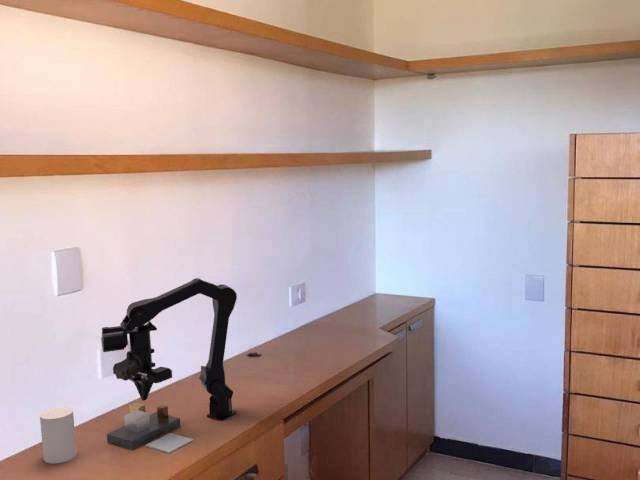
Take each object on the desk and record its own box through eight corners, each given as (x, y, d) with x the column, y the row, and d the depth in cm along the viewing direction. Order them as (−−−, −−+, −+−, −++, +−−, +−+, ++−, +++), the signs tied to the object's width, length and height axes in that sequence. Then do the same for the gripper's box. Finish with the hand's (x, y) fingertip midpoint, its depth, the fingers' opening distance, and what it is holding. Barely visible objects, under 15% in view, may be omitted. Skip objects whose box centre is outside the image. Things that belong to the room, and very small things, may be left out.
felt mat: (170, 434, 186) (170, 432, 186) (193, 440, 181) (193, 439, 181) (145, 446, 179) (145, 444, 179) (169, 453, 174) (169, 452, 174)
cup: (80, 449, 179) (77, 406, 177) (70, 462, 170) (66, 418, 169) (50, 450, 178) (46, 407, 177) (38, 464, 170) (34, 419, 169)
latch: (136, 415, 193) (135, 402, 193) (145, 418, 191) (144, 404, 191) (130, 418, 191) (129, 405, 191) (139, 421, 189) (138, 407, 189)
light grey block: (137, 423, 188) (136, 409, 188) (149, 426, 186) (148, 413, 185) (125, 429, 185) (124, 415, 184) (137, 432, 182) (136, 418, 181)
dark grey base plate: (156, 419, 197) (155, 402, 196) (180, 426, 191) (179, 408, 191) (107, 442, 182) (105, 423, 181) (131, 450, 177) (130, 430, 176)
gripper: (95, 350, 185) (99, 403, 187) (140, 359, 175) (144, 415, 177) (127, 340, 194) (130, 391, 196) (171, 348, 184) (175, 402, 186)
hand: (144, 400), depth 189 cm, fingers closed
